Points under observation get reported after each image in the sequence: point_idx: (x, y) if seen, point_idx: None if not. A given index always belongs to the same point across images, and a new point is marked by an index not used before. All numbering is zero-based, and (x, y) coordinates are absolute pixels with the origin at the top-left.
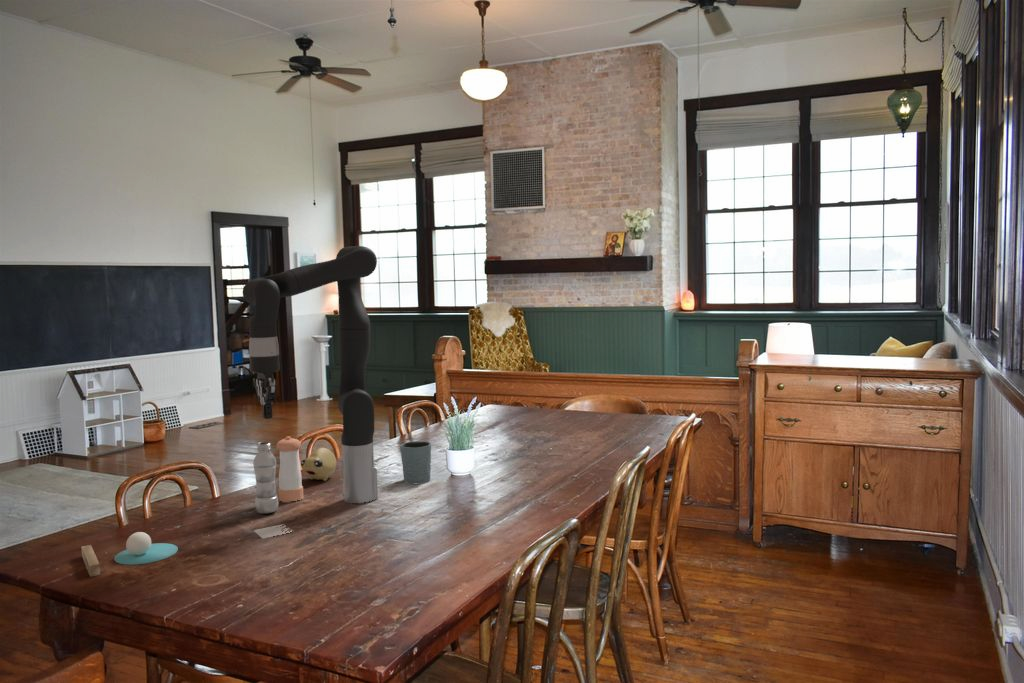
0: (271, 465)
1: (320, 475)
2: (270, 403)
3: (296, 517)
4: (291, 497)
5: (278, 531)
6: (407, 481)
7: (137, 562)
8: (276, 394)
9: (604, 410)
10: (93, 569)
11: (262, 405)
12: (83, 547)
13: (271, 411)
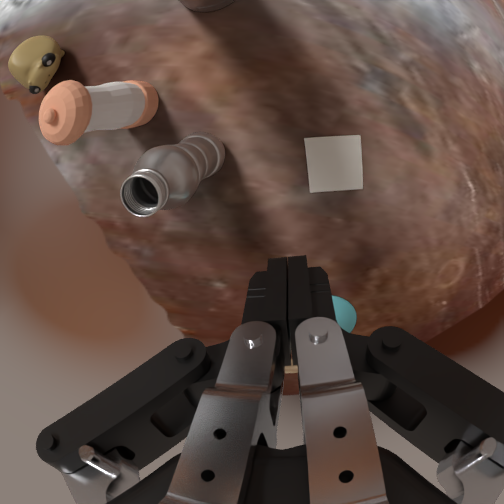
0: (193, 161)
1: (60, 58)
2: (362, 344)
3: (267, 106)
4: (154, 103)
5: (343, 157)
6: None
7: (348, 330)
8: (485, 381)
9: None
10: None
11: (286, 363)
12: (290, 372)
13: (308, 282)
